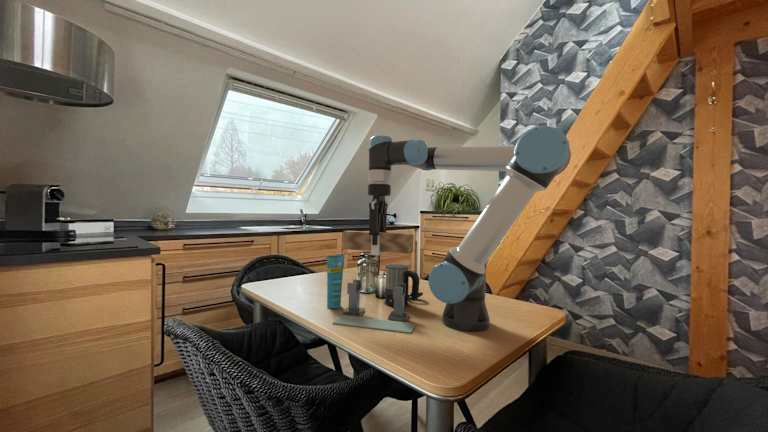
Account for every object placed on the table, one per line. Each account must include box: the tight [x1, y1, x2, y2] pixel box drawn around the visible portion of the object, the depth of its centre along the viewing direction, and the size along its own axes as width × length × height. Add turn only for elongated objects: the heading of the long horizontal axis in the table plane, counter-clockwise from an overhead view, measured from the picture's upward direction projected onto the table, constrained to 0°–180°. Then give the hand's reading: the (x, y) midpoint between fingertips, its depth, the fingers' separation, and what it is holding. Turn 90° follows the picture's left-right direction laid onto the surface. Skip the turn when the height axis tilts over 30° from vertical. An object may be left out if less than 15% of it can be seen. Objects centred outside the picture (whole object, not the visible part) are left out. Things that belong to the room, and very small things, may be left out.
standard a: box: [387, 283, 410, 322], centre depth 114 cm, size 6×6×11 cm
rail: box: [342, 230, 414, 255], centre depth 112 cm, size 23×4×6 cm, turn 74°
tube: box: [326, 254, 346, 309], centre depth 124 cm, size 7×5×19 cm, turn 134°
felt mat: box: [332, 314, 416, 334], centre depth 107 cm, size 25×8×1 cm, turn 76°
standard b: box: [342, 278, 366, 317], centre depth 118 cm, size 6×6×11 cm
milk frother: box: [384, 263, 424, 307], centre depth 133 cm, size 14×16×15 cm
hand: (377, 254), depth 112 cm, fingers closed on rail, 4 cm apart
